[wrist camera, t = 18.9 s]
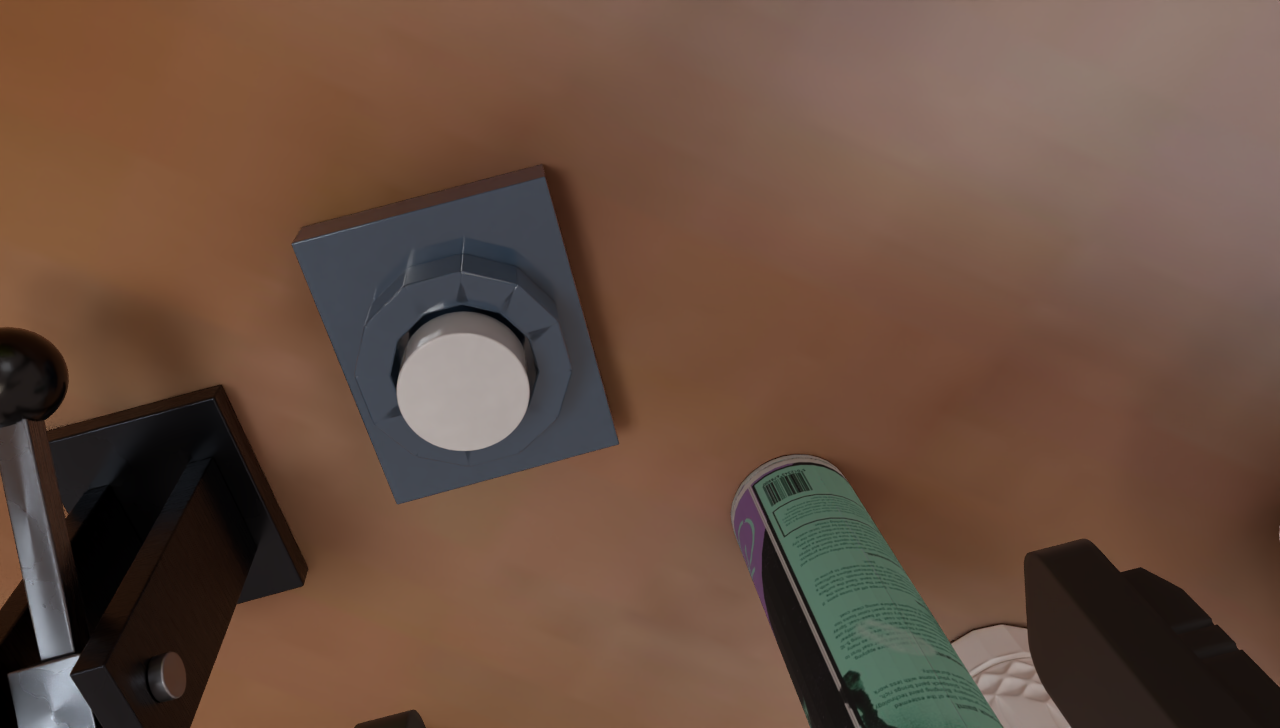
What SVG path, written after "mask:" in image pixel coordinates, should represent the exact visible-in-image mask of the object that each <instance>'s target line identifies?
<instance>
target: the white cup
mask: <svg viewBox="0 0 1280 728" xmlns="http://www.w3.org/2000/svg"><path fill="white" fill-rule="evenodd" d="M951 645H952V647H953V648H954V650H955V652H956V653H957V655H958V656H959V658H960V659H961V661H962V663H963V664H964V666H965V667H966V669H967V671H968V672H969V674H970V675H971V677H972V678H973V680H974V682H975V683H976V685H977V686H978V688H979V690H980V691H981V693H982V694H983V696H984V697H985V699H986V701H987V702H988V704H989V705H990V707H991V709H992V710H993V712H994V713H995V715H996V716H997V718H998V720H999V721H1000V723H1001V724H1002V726H1003V727H1004V728H1071V727H1070V725H1069V724H1068V722H1067V721H1066V719H1065V718H1064V716H1063V715H1062V713H1061V712H1060V711H1059V709H1058V708H1057V706H1056V705H1055V703H1054V702H1053V700H1052V699H1051V697H1050V696H1049V695H1048V693H1047V691H1046V690H1045V688H1044V686H1043V685H1042V683H1041V681H1040V679H1039V677H1038V674H1037V672H1036V670H1035V667H1034V664H1033V661H1032V658H1031V654H1030V650H1029V644H1028V631H1027V629H1026V628H1020V627H1014V626H1009V625H1003V624H1001V625H996V626H991V627H987V628H982V629H978V630H973V631H971V632H969V633H968V634H966V635H964V636H963V637H961V638H959V639H958V640H956V641H955V642H953V643H951Z"/></svg>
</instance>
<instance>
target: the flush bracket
mask: <svg viewBox="0 0 1280 728" xmlns="http://www.w3.org/2000/svg"><path fill="white" fill-rule="evenodd" d="M47 436H48V440H49V445H50V450H51V454H52V459H53V464H54V468H55V473H56V478H57V482H58V487H59V491H60V496H61V501H62V504H63V505H64V507H65V509H66V511H67V512H68V514H69V515H68V516H67V517H66V524H67V529H68V533H69V538H70V543H71V547H72V552H73V557H74V561H75V566H76V571H77V575H78V580H79V585H80V589H81V594H82V599H83V603H84V608H85V613H86V617H87V622H88V627H89V631H90V636H91V637H90V639H89V641H88V642H87V644H86V646H85V648H84V649H83V651H82V653H81V655H80V657H79V658H78V660H77V662H76V664H75V665H74V667H73V669H72V671H71V673H70V677H71V679H72V680H73V682H74V683H75V685H76V687H77V688H78V690H79V691H80V693H81V694H82V696H83V697H84V699H85V701H86V702H87V704H88V705H89V707H90V708H91V710H92V712H93V713H94V715H95V716H96V718H97V719H98V721H99V723H100V724H101V726H102V727H103V728H190V727H191V724H192V722H193V719H194V716H195V714H196V711H197V708H198V706H199V703H200V700H201V698H202V695H203V692H204V690H205V687H206V684H207V682H208V679H209V676H210V674H211V671H212V668H213V666H214V663H215V660H216V658H217V655H218V652H219V650H220V647H221V644H222V642H223V639H224V636H225V634H226V631H227V628H228V626H229V623H230V620H231V618H232V615H233V612H234V610H235V607H236V604H240V603H243V602H247V601H251V600H254V599H258V598H262V597H265V596H269V595H273V594H276V593H280V592H283V591H287V590H291V589H294V588H298V587H302V586H303V585H304V582H305V579H306V575H307V572H308V568H307V566H306V564H305V562H304V559H303V557H302V555H301V553H300V551H299V549H298V547H297V544H296V542H295V540H294V538H293V536H292V534H291V532H290V530H289V527H288V525H287V523H286V521H285V519H284V517H283V515H282V513H281V510H280V508H279V506H278V504H277V502H276V500H275V498H274V495H273V493H272V491H271V489H270V487H269V485H268V483H267V481H266V478H265V476H264V474H263V472H262V470H261V468H260V466H259V464H258V461H257V459H256V457H255V455H254V453H253V451H252V449H251V446H250V444H249V442H248V440H247V438H246V436H245V434H244V432H243V429H242V427H241V425H240V423H239V421H238V419H237V417H236V415H235V412H234V410H233V408H232V406H231V404H230V402H229V400H228V397H227V395H226V393H225V391H224V389H223V387H222V385H218V386H214V387H211V388H207V389H203V390H199V391H196V392H192V393H188V394H184V395H181V396H177V397H173V398H169V399H166V400H162V401H158V402H154V403H151V404H147V405H143V406H140V407H136V408H132V409H128V410H125V411H121V412H117V413H113V414H110V415H106V416H102V417H98V418H95V419H91V420H87V421H83V422H80V423H76V424H72V425H69V426H65V427H61V428H57V429H54V430H50V431H47ZM39 662H41V661H40V658H39V654H38V649H37V644H36V639H35V635H34V630H33V625H32V620H31V615H30V611H29V606H28V601H27V596H26V592H25V587H24V582H23V579H22V580H21V582H20V583H19V584H18V586H17V587H16V589H15V590H14V591H13V593H12V594H11V596H10V597H9V598H8V600H7V601H6V603H5V604H4V605H3V607H2V608H1V610H0V728H18V727H17V722H16V717H15V712H14V707H13V702H12V698H11V693H10V688H9V683H8V678H7V674H8V673H10V672H13V671H16V670H18V669H21V668H24V667H27V666H30V665H33V664H36V663H39Z"/></svg>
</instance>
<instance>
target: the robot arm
mask: <svg viewBox="0 0 1280 728" xmlns="http://www.w3.org/2000/svg"><path fill="white" fill-rule="evenodd" d="M1024 576H1025V594H1026V613H1027V631H1028V644H1029V650H1030V654H1031V658H1032V661H1033V664H1034V667H1035V670H1036V672H1037V674H1038V677H1039V679H1040V681H1041V683H1042V685H1043V686H1044V688H1045V690H1046V691H1047V693H1048V695H1049V696H1050V697H1051V699H1052V700H1053V702H1054V703H1055V705H1056V706H1057V708H1058V709H1059V711H1060V712H1061V713H1062V715H1063V716H1064V718H1065V719H1066V721H1067V722H1068V724H1069V725H1070V727H1071V728H1280V687H1279V686H1278V685H1277V684H1276V683H1275V682H1274V681H1273V680H1272V679H1271V678H1270V677H1269V676H1268V675H1267V674H1266V673H1265V672H1264V671H1263V670H1262V669H1261V668H1260V667H1259V666H1258V665H1257V664H1256V663H1255V662H1254V661H1253V660H1252V659H1251V658H1250V657H1249V656H1248V655H1247V654H1246V653H1245V652H1244V651H1243V650H1238V648H1237V646H1236V643H1235V642H1234V641H1233V640H1232V639H1231V638H1230V637H1229V636H1228V635H1227V634H1226V633H1225V632H1224V631H1223V630H1222V629H1221V628H1220V627H1219V626H1218V625H1214V624H1213V622H1212V619H1211V618H1210V617H1209V616H1208V615H1207V614H1206V613H1205V612H1204V611H1203V610H1202V609H1201V607H1200V606H1199V605H1198V604H1197V603H1196V602H1195V601H1194V600H1193V599H1192V598H1191V597H1190V596H1189V595H1188V594H1187V593H1186V592H1185V591H1184V590H1183V589H1181V588H1179V587H1178V586H1176V585H1174V584H1172V583H1170V582H1168V581H1166V580H1164V579H1162V578H1160V577H1158V576H1157V575H1155V574H1153V573H1151V572H1149V571H1147V570H1145V569H1143V568H1141V567H1140V568H1136V569H1132V570H1128V571H1124V572H1119V571H1118V569H1117V568H1116V567H1115V566H1114V565H1113V564H1112V563H1111V562H1110V561H1109V560H1108V559H1107V557H1106V556H1105V555H1104V554H1103V553H1102V552H1101V551H1100V550H1099V549H1098V548H1097V547H1096V546H1095V545H1094V544H1093V543H1092V542H1091V541H1089V540H1087V539H1080V540H1076V541H1072V542H1068V543H1064V544H1060V545H1056V546H1052V547H1049V548H1045V549H1041V550H1037V551H1033V552H1029V553H1027V555H1026V556H1025V560H1024ZM354 728H426V727H425V725H424V722H423V720H422V718H421V716H420V715H419V713H418V712H417V711H415V710H410V711H406V712H402V713H398V714H394V715H391V716H387V717H383V718H379V719H375V720H371V721H367V722H363V723H360V724H357V725H356V726H355V727H354Z"/></svg>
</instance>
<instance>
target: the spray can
mask: <svg viewBox="0 0 1280 728" xmlns="http://www.w3.org/2000/svg"><path fill="white" fill-rule="evenodd" d="M731 522H732V526H733V530H734V533H735V536H736V539H737V542H738V544H739V547H740V549H741V552H742V554H743V557H744V559H745V562H746V565H747V567H748V570H749V572H750V575H751V577H752V580H753V582H754V585H755V587H756V590H757V593H758V595H759V598H760V600H761V603H762V605H763V608H764V610H765V613H766V615H767V618H768V621H769V623H770V626H771V628H772V631H773V633H774V636H775V638H776V641H777V644H778V646H779V649H780V651H781V654H782V656H783V659H784V661H785V664H786V666H787V669H788V672H789V674H790V677H791V679H792V682H793V684H794V687H795V689H796V692H797V695H798V697H799V700H800V702H801V705H802V707H803V710H804V712H805V715H806V717H807V720H808V723H809V725H810V728H1004V727H1003V726H1002V724H1001V723H1000V721H999V720H998V718H997V716H996V715H995V713H994V712H993V710H992V709H991V707H990V705H989V704H988V702H987V701H986V699H985V697H984V696H983V694H982V693H981V691H980V690H979V688H978V686H977V685H976V683H975V682H974V680H973V678H972V677H971V675H970V674H969V672H968V671H967V669H966V667H965V666H964V664H963V663H962V661H961V659H960V658H959V656H958V655H957V653H956V652H955V650H954V648H953V647H952V645H951V644H950V642H949V640H948V639H947V637H946V636H945V634H944V633H943V631H942V629H941V628H940V626H939V625H938V623H937V621H936V620H935V618H934V617H933V615H932V614H931V612H930V610H929V609H928V607H927V606H926V604H925V602H924V601H923V599H922V598H921V596H920V595H919V593H918V591H917V590H916V588H915V587H914V585H913V584H912V582H911V580H910V579H909V577H908V576H907V574H906V572H905V571H904V569H903V568H902V566H901V565H900V563H899V561H898V560H897V558H896V557H895V555H894V553H893V552H892V550H891V549H890V547H889V546H888V544H887V542H886V541H885V539H884V538H883V536H882V534H881V533H880V531H879V530H878V528H877V527H876V525H875V523H874V522H873V520H872V519H871V517H870V515H869V514H868V512H867V511H866V509H865V508H864V506H863V504H862V503H861V501H860V500H859V498H858V496H857V495H856V493H855V492H854V490H853V489H852V487H851V485H850V484H849V482H848V481H847V479H846V478H845V477H844V475H843V474H842V473H841V472H840V471H839V470H838V469H837V467H835V466H834V465H832V464H831V463H830V462H828V461H826V460H824V459H821V458H819V457H815V456H810V455H789V456H783V457H780V458H777V459H774V460H771V461H769V462H767V463H765V464H763V465H762V466H760V467H759V468H757V469H756V470H755V471H753V472H752V473H751V474H750V475H749V476H748V477H747V478H746V479H745V480H744V481H743V482H742V484H741V486H740V487H739V489H738V490H737V492H736V494H735V497H734V500H733V502H732V509H731Z"/></svg>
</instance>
